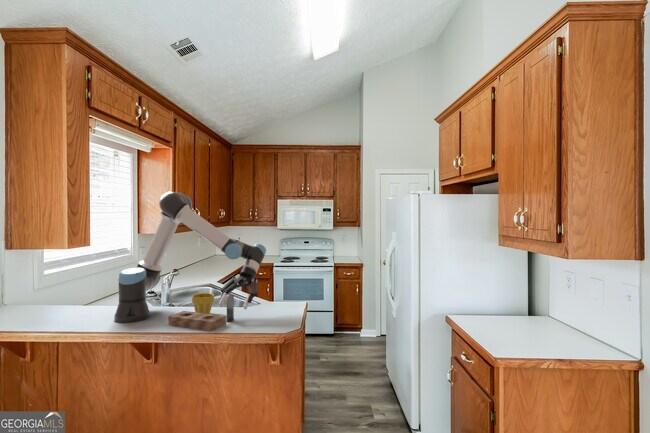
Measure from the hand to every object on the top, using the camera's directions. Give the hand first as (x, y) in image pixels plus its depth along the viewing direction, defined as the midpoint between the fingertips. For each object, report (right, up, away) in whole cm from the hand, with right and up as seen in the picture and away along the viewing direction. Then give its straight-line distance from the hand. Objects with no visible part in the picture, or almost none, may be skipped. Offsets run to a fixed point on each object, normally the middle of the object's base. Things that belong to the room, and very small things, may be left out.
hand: (232, 306), depth 175 cm
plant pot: (-17, -7, +10) cm, 21 cm away
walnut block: (-14, -6, -7) cm, 17 cm away
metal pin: (-1, -6, 0) cm, 7 cm away
